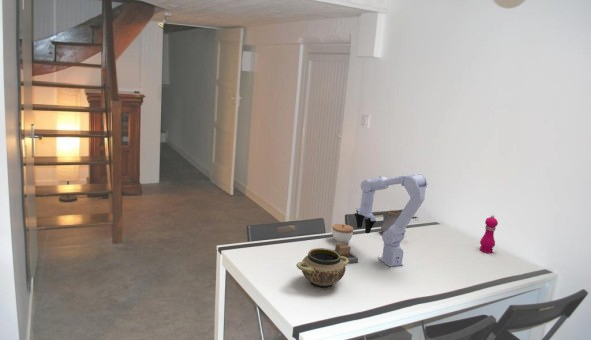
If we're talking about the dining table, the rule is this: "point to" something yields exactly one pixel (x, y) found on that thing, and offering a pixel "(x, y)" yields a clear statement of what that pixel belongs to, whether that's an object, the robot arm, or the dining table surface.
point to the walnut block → (343, 249)
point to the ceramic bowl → (323, 267)
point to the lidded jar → (342, 233)
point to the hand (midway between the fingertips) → (363, 230)
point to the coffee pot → (391, 220)
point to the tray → (351, 258)
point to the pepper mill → (488, 235)
